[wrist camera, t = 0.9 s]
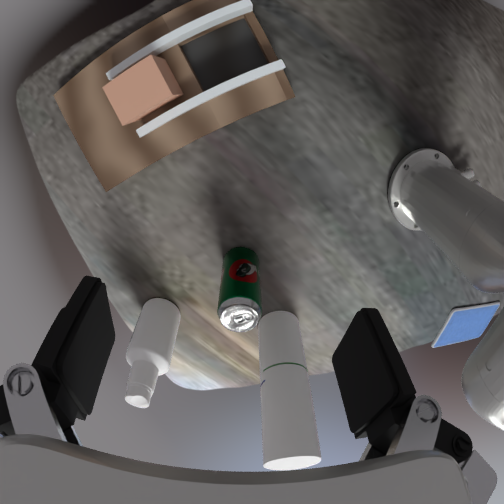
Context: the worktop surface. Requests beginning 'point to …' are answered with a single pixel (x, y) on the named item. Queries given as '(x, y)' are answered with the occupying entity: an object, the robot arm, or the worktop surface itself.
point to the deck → (190, 81)
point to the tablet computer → (465, 324)
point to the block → (142, 89)
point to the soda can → (240, 290)
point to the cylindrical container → (285, 395)
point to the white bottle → (151, 349)
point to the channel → (181, 35)
